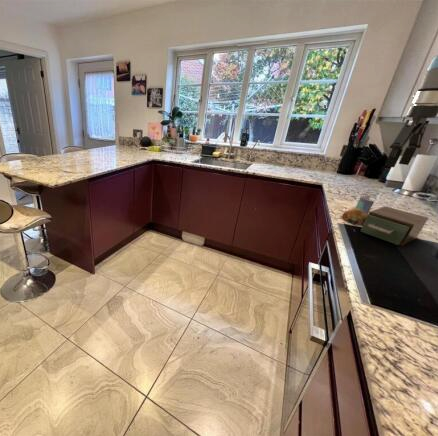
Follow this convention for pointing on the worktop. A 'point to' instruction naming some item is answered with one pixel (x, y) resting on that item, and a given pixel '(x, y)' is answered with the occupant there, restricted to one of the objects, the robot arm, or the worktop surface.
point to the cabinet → (402, 221)
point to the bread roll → (355, 216)
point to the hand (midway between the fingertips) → (396, 165)
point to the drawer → (385, 229)
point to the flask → (364, 203)
